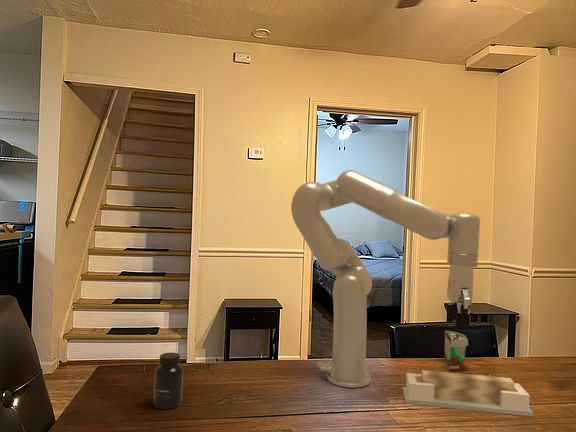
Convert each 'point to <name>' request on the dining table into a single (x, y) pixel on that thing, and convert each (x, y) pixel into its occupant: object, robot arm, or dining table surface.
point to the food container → (455, 350)
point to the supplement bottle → (168, 381)
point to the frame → (425, 396)
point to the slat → (467, 386)
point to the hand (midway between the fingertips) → (458, 323)
